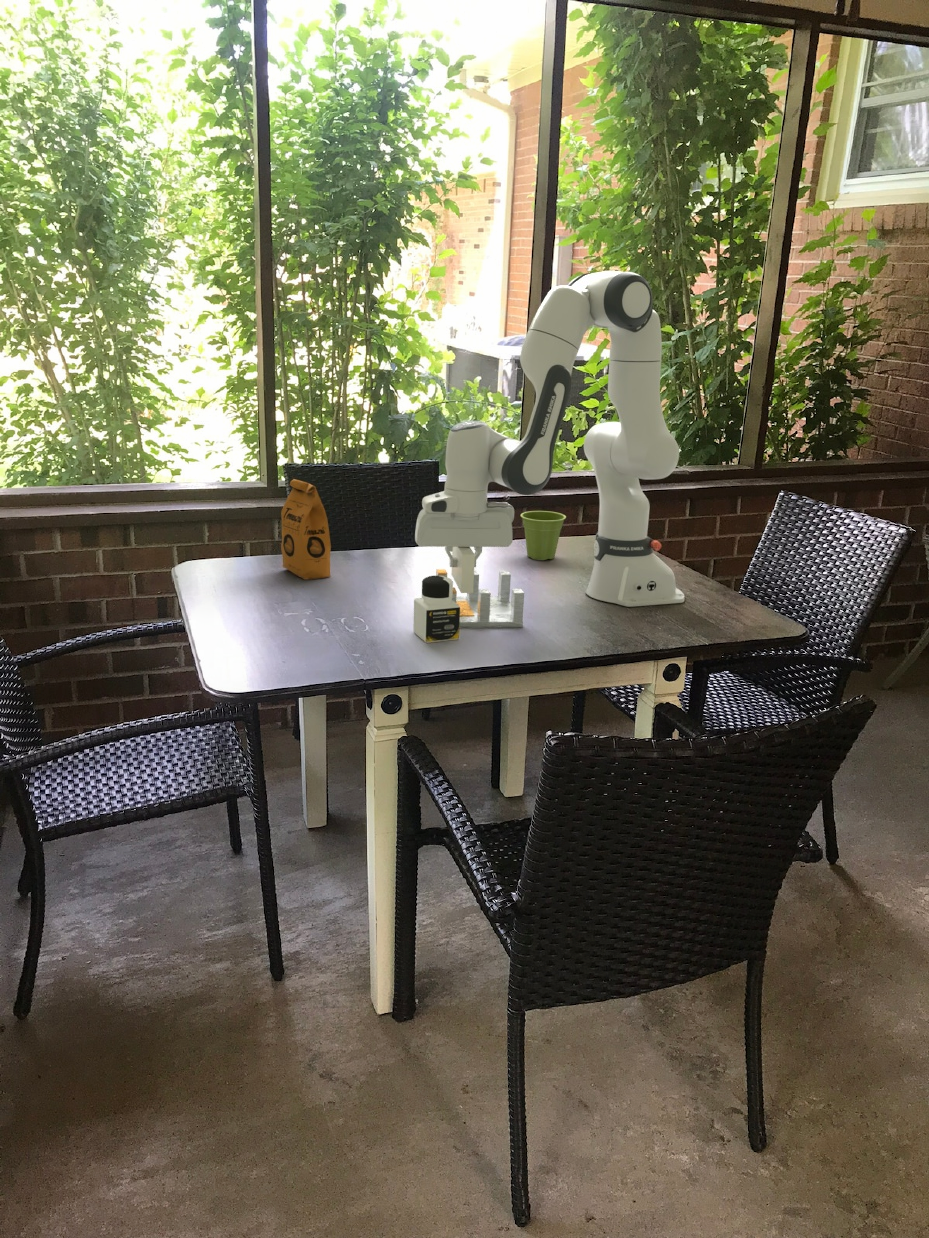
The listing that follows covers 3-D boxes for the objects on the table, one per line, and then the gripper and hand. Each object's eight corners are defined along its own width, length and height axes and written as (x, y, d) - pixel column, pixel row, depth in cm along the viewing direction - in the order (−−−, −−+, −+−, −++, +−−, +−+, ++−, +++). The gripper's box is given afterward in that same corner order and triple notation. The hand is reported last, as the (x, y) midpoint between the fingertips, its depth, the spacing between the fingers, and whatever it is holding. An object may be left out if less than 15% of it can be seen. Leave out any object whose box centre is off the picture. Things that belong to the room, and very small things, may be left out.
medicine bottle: (425, 643, 187) (427, 584, 183) (412, 632, 193) (414, 574, 190) (459, 640, 190) (461, 581, 186) (445, 628, 196) (447, 571, 192)
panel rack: (506, 601, 216) (507, 568, 213) (522, 627, 199) (524, 591, 196) (435, 601, 213) (436, 568, 211) (445, 628, 196) (447, 592, 194)
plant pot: (514, 551, 260) (517, 510, 256) (558, 552, 261) (561, 511, 258) (522, 562, 249) (524, 520, 245) (567, 563, 250) (570, 520, 247)
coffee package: (297, 582, 224) (296, 488, 217) (277, 569, 234) (275, 479, 227) (336, 577, 229) (336, 485, 222) (315, 565, 239) (314, 476, 232)
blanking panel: (462, 574, 210) (464, 538, 208) (473, 592, 197) (474, 554, 194) (451, 574, 210) (452, 538, 207) (461, 592, 197) (462, 554, 194)
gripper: (511, 499, 203) (508, 563, 207) (415, 498, 199) (413, 562, 204) (518, 505, 197) (514, 570, 201) (418, 504, 193) (416, 570, 198)
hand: (462, 566), depth 202 cm, fingers closed on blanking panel, 2 cm apart
